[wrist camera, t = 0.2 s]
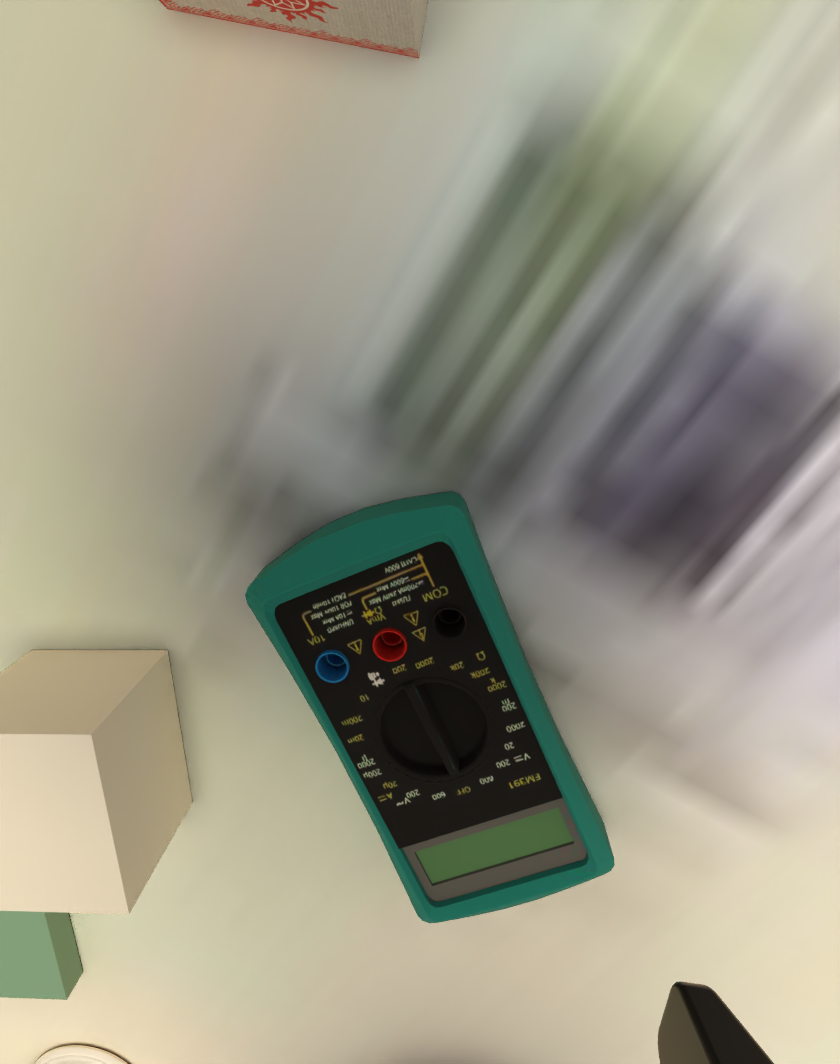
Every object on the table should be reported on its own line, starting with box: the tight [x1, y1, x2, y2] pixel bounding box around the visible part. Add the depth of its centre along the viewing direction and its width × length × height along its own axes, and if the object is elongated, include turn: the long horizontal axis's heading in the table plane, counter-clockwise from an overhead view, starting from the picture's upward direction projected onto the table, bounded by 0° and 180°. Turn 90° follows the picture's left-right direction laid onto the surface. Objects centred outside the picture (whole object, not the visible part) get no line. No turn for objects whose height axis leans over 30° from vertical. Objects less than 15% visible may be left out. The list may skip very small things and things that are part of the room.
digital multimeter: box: [245, 491, 614, 923], centre depth 22 cm, size 7×15×3 cm, turn 24°
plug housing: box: [0, 650, 192, 914], centre depth 22 cm, size 6×5×5 cm
